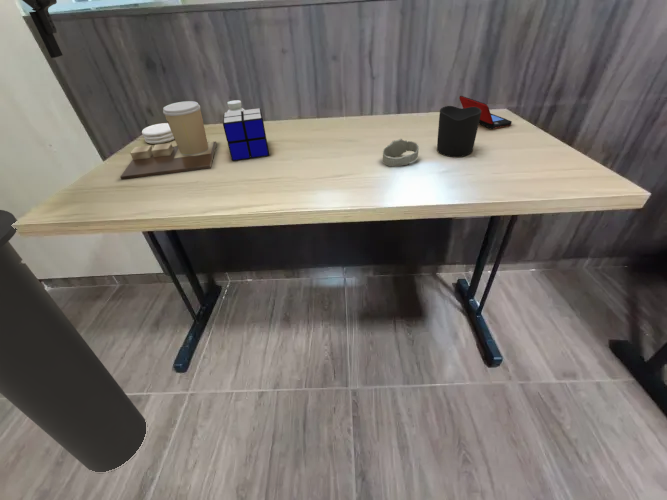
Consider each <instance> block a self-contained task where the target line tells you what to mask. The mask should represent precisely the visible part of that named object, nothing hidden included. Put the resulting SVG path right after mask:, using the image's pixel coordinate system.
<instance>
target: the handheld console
mask: <svg viewBox="0 0 667 500" xmlns="http://www.w3.org/2000/svg"><path fill="white" fill-rule="evenodd" d="M458 99H459V101H460V104H461V108H462V109H463V108H469V107H478V108H480V109H481V116H480V120H479V125H481V126H483V127H485V128H488V129H490V130H494V129H499V128H503V127H508V126H511V125H512V123H513V121H511V120H510V119H507V118H506V117H505V118H504V117H501V116H500V115H496V114H493V113H491V110H490V107H489V105H488V104H487V103H485V102H481V101H478V100H476V99H473V98H470V97H466V96H463V95H460V96H459V98H458Z"/></svg>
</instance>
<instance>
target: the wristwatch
mask: <svg viewBox="0 0 667 500" xmlns="http://www.w3.org/2000/svg"><path fill="white" fill-rule="evenodd" d="M419 146H420V145H419V144H418V143H416V142H415V141H411V140H404V139H403V138H399V139H396V140H392V141H391V142H390V143H389V144H388V145H387V146H385V147H384V148H383V150H382V163H383V164H384V165H385V166H389V167H400V166H407V165H410V163H412V162H414V161H416V160H417V158H418V157H419V149H420V147H419ZM407 152H413V153H409V154H405V155H403V154H404V153H407Z"/></svg>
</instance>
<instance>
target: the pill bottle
mask: <svg viewBox="0 0 667 500" xmlns="http://www.w3.org/2000/svg"><path fill="white" fill-rule="evenodd" d="M242 106H243V105H242V101H241V100H239V99H235V100H230V101H227V107H228V109H227V111H226V112H233V111H243V110H245V108H243V107H242Z"/></svg>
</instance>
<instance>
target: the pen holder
mask: <svg viewBox="0 0 667 500" xmlns="http://www.w3.org/2000/svg"><path fill="white" fill-rule="evenodd" d="M480 116H481V109H480V108H478V107H469V108H463V107H458V106H452V105H446V106H442V107H441V108H439V116H438V117H439V118H438V127H437V129H438V130H437V142H436V150H437V152H438V153H439V154H441V155H443V156H446V157H450V158H451V157H452V158H460V157H461V158H463V157H466V156H469V155H471V153H472V152H473V149H474V146H475V142H476V138H477V133H478V128H479V125H480V124H479V120H480Z"/></svg>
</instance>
